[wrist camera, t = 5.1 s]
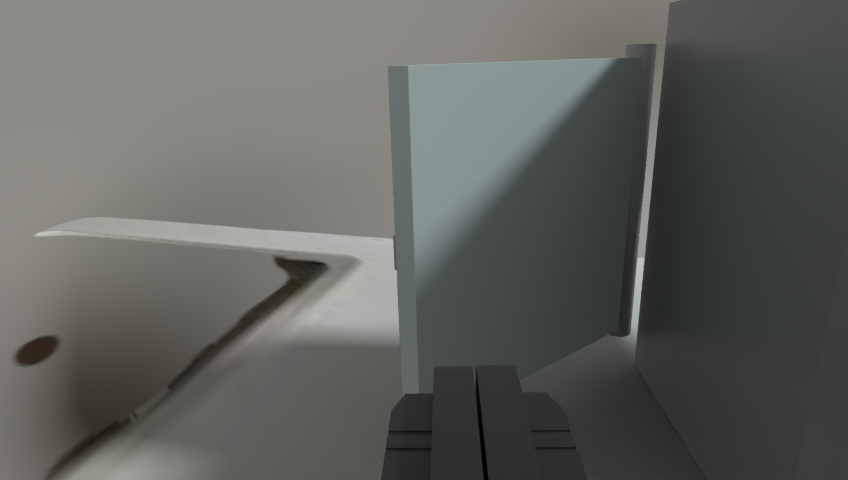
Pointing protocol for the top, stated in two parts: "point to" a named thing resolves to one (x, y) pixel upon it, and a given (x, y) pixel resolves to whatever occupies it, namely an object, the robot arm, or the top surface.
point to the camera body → (751, 239)
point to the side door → (516, 208)
